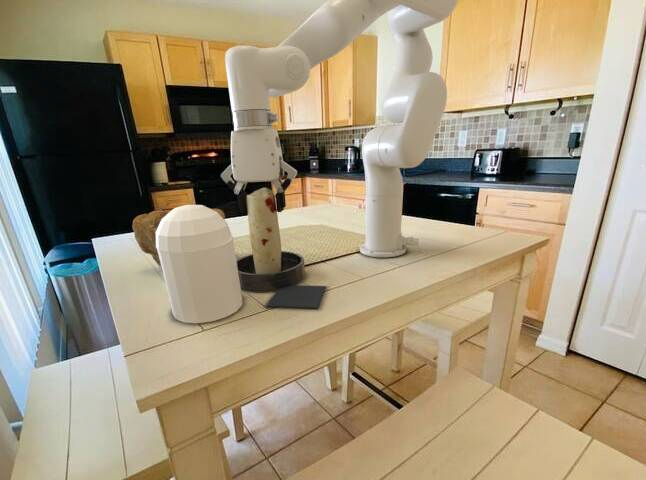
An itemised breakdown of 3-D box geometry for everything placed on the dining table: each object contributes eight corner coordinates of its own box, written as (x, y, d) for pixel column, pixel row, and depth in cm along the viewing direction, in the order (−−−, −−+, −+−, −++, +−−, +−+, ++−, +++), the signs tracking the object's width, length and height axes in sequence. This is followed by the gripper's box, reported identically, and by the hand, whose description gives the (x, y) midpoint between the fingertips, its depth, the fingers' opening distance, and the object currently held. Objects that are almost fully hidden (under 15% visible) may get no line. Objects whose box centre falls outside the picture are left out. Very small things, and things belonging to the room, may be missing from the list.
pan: (310, 266, 85) (309, 251, 83) (295, 293, 70) (294, 275, 68) (249, 265, 88) (247, 250, 86) (222, 291, 73) (219, 274, 72)
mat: (325, 287, 72) (325, 285, 72) (317, 309, 63) (317, 307, 63) (280, 286, 74) (280, 285, 73) (266, 307, 65) (266, 305, 64)
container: (173, 330, 58) (144, 215, 51) (171, 300, 70) (148, 203, 62) (249, 312, 63) (233, 205, 55) (236, 287, 74) (221, 195, 67)
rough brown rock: (139, 291, 78) (123, 228, 71) (143, 264, 92) (130, 210, 85) (239, 275, 86) (233, 218, 79) (229, 253, 99) (223, 202, 93)
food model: (287, 281, 75) (279, 190, 67) (257, 286, 74) (245, 193, 66) (280, 267, 84) (272, 185, 76) (254, 271, 82) (243, 187, 75)
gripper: (299, 120, 68) (305, 207, 75) (220, 125, 71) (232, 209, 78) (290, 118, 61) (297, 214, 68) (203, 124, 65) (217, 215, 71)
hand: (262, 210), depth 73 cm, fingers open, 7 cm apart
